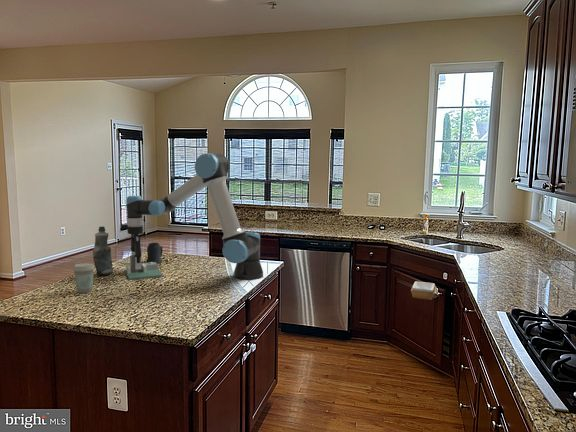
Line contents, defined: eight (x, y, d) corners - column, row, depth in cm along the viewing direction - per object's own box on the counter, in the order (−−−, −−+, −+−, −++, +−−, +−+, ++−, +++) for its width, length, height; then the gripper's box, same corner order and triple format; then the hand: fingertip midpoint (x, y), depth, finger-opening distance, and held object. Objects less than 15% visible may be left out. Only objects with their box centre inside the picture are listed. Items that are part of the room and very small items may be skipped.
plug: (141, 271, 219) (141, 256, 218) (131, 272, 217) (130, 256, 216) (140, 269, 223) (140, 254, 222) (130, 270, 220) (129, 255, 220)
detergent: (106, 271, 222) (105, 224, 220) (118, 272, 220) (117, 225, 218) (88, 277, 210) (86, 227, 207) (101, 278, 208) (99, 228, 205)
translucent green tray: (162, 276, 214) (162, 266, 213) (129, 280, 206) (129, 269, 206) (155, 268, 231) (155, 258, 231) (124, 271, 224) (124, 261, 223)
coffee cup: (72, 294, 181) (70, 267, 180) (76, 289, 189) (75, 263, 188) (93, 293, 183) (92, 266, 182) (97, 288, 192) (96, 262, 190)
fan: (157, 268, 226) (157, 263, 225) (145, 269, 223) (145, 264, 223) (155, 266, 231) (155, 261, 231) (144, 267, 228) (143, 261, 228)
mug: (156, 264, 240) (156, 245, 238) (142, 263, 242) (142, 244, 241) (168, 260, 251) (167, 241, 250) (154, 259, 254) (154, 241, 252)
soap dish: (413, 291, 195) (413, 280, 195) (435, 293, 191) (436, 283, 191) (410, 298, 184) (410, 287, 183) (434, 301, 180) (434, 290, 179)
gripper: (146, 228, 208) (147, 270, 210) (139, 222, 230) (140, 261, 232) (130, 229, 204) (132, 272, 207) (124, 223, 226) (125, 262, 229)
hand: (136, 266), depth 219 cm, fingers open, 13 cm apart
